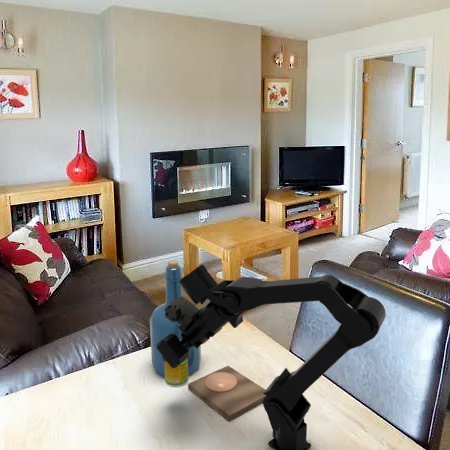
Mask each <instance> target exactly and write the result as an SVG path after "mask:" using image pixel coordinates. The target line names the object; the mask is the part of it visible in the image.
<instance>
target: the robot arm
mask: <svg viewBox="0 0 450 450" xmlns="http://www.w3.org/2000/svg"><path fill="white" fill-rule="evenodd" d="M208 271H209V270H208V269H207V268H206V266H205V265H204V264H200V265H198V266H197V267H196V268H194V270H191V272H190V273H188V274H186V275H184V276H182V279H181V280H180V281H179V284H180V286H181V287H182V290H183V291H184V292H185V293H186V294H187V296H188V297H189V298H190V300H191V301H192V302H193V303H192V302H191V301H189V299H187V298H185V297H184V296H183V297H181V296H179V297H177V298H176V299H174V300H173V301H171V302H170V304H169V305H168V307H167V308H165V317H166V318H167V319H169V320H170V321H171V322H177V323H179V324H181V325H180V326H179V327H178V328H179V329H180V330H181V332H183V333H181V334H180V335H181V337H182V340H181V341H180V340H179V338H178V337H177V336H176V335H175V334H171V333H170V334H169V335H168V336H166V337H165V338H164V339H162V340H161V341H160V342H159V343H158V344H156V348H157V349H158V350H159V352H160V353H161V354H162V356H163V357H162V359H163V361H164V362H168V364H169V365H170V366H171V368H176V367H177V366H178V365H179V364H181V363H182V362H183V361H184V360H185V359H187V358H188V357H189V348H190V347H193V346H195V347H196V348H198V347H199V346H200V345H201V346H202V345H203V344H205V343H206V342H207V341H209V340H210V339H211V338H213V337H214V336H215V335H216V334H218V333H220V331H221V330H222V329H223V327H224V326H226V325H227V324H228V323H229V324H230V325H231V327H232V328H234V329H236V328H238V326H239V325H241V324H242V323H243V322H244V317H243V312H244V313H245V312H248V311H250V310H254V309H256V308H258V307H261V306H265V305H276V304H277V305H278V304H290V303H291V304H292V303H295V304H296V303H307V302H308V303H309V302H319V303H321V304H322V305H323V306H324V307H325V308H326V309H327V311H328V312H329V313H330V314H331V316H332V317H333V319H335V321H337V322H338V323H339V324H340V325H339V327H338V328H337V330H335V331H334V332H333V334H332V335H331V336H330V337H328V338H327V339H326V341H324V342H323V343H322V345H320V346H319V347H318V348H317V349H316V350H315V351H314V352H313V354H311V355H310V357H308V358H307V359H306V360H305V361H304V362H303V363H302V364H301V365H300V366H299V367H298V368H297V369H296V370H295V371H294V370H293V371H292V372H290V370H289V369H288V368H287V367H285V368H284V369H283V371H282V372H281V373H280V374H279V375H277V376H276V377H274V379H273V380H272V381H271V382H270V384H269V386H268V387H267V388H265V390H266V391H265V392H264V393H263V394H264V395H266V396H265V397H264V399H263V402H262V403H261V404H262V405H263V406H262V407H263V408H264V411H265V412H266V414H267V418H268V421H269V424H270V426H271V429H272V439H270V440H269V441H268V442H267V444H268V446H269V447H271V448H272V449H273V450H310V449H311V448H312V443H310V442H308V441H307V435H308V434H307V432H308V431H307V429H308V424H307V423H306V422H305V417H306V415H307V414H308V413H309V411H310V408H311V407H312V405H311V403H310V402H309V401H308V399H307V398H306V397H305V395H304V393H305V392H306V391H307V390H308V389H309V388H310V387H311V386H312V385H313V384H314V383H315V382H317V381H318V380H319V379H320V378H321V376H323V375H324V374H325V373H326V372H327V371H328V370H329V369H330V368H332V367H333V366H334V365H335V364H336V363H337V362H338V361H339V360H340V359H341V358H342V357H343V356H344V355H345V354H347V353H348V352H349V351H350V350H353V349H356V348H359V347H362V346H363V345H364V344H366V343H368V342H370V341H371V340H373V339H374V338H375V337H376V336H377V335H378V334H379V331H380V329H381V327H382V325H383V323H384V322H385V319H386V317H387V314H386V309H385V307H384V304H382V302H381V301H380V300H379V299H377V298H375V297H372V296H368V295H367V294H366V293H364V292H363V291H361V290H360V289H359V288H357V287H354V286H352V285H349V284H347V283H345V282H343V281H341V280H340V279H339V278H338V277H336V276H335V275H333V274H332V275H331V274H324V275H321V276H312V277H301V278H292V279H291V278H289V279H278V280H269V281H268V280H262V279H259V278H258V277H248V276H241V277H238V278H237V279H224V280H223V279H222V281H220V282H219V283H217V281H216V280H215V279H214V278H213V276H212V275H211V274H210V272H208ZM207 301H209V302H208V303H207V304H206V305H204V307H201V308H200V309H199V308H198V307H196V306H197V305H198V304H199V303H200V305H203V304H205V303H206V302H207Z"/></svg>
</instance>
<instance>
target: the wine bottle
mask: <svg viewBox="0 0 450 450" xmlns="http://www.w3.org/2000/svg"><path fill="white" fill-rule="evenodd" d="M182 274H183V273H182V269H181V266H180V265H179V262H178V261H177V260H170V261H168V262H167V266H166V267H165V278H164V280H165V303H163V304H160V305H159V306H157V307H156V308H155V309H154V310H153V312H152V314H151V315H150V318H149V331H150V333H149V334H150V350H151V351H150V352H151V353H150V354H151V365H152V367H153V369H154V372H155V373H156V374H157V375H159V376H161V377H164V378H165V366H164V361H163V359H162V357H163V356H162V354H161V353H160V352H159V350H158V349H157V348H156V344H158V343H159V342H160V341H161V340H162V339H164V338H165V337H166V336H168V335H169V334H170V333H171V334H175V335H176V336H177V337H178V338H179V340H182V337H181V335H180V334H181V333H183V332H181V330H180V329H179V328H178V327H179V326H180V325H181V324H179V323H177V322H171V321H170V320H169V319H167V318H166V317H165V308H167V307H168V305H169V304H170V302H171V301H173V300H174V299H176V298H177V297H179V296H181V297H184V296H183V288H182V287H181V286H180V284H179V281H180V280H181V279H182V278H183V275H182ZM201 350H202V345H200V346H199V347H198V348H196V347H195V346H193V347H190V348H189V357H188V377H189V376H191V375H193V374H194V373H195V372H196V371H199V368H200V365H201V361H202V351H201Z"/></svg>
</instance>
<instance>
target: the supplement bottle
mask: <svg viewBox="0 0 450 450" xmlns="http://www.w3.org/2000/svg"><path fill="white" fill-rule="evenodd" d="M180 341H181V340H180ZM164 366H165V377H164V380H165V381H164V382H165V384H166V385H167V386H168V387H170V388H181V387H184V386H186V385H188V382H189V376H188V358H187V359H185V360H184V361H183V362H182V363H181V364H179V365H178V366H177V367H176V368H171V366H170V365H169V364H168V362H164Z"/></svg>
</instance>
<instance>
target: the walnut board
mask: <svg viewBox="0 0 450 450" xmlns="http://www.w3.org/2000/svg"><path fill="white" fill-rule="evenodd" d="M217 372H225V373H229V374H232V375H233V376H235V377H236V379H237V385H236V387H235V388H234V389H232V390H230V391H228V392H214V391H211V390H209V389H208V388H207V387H206V386H205V379H206V378H207V377H208V376H209V375H211V374H213V373H217ZM187 389H188V390H189V392H191V393H193V395H195V396H197V398H199V399H200V400H202V401H203V402H204V403H205V404H207V405H208V406H209V407H210V408H211V409H213V410H214V411H216V412H217V414H219V415H221V416H222V417H223V418H225V420H227V421H229V422H231V421H232V420H234V419H236V418H238V417H240V416H241V415H244V414H245V413H247V412H249V411H251V410H252V409H254V408H256V407H258V406H259V405H262V404H263V403H262V402H263V399H264V397H265V396H266V395H264V394H263V393H264V392H265V391H266V388H264V387H262V386H261V385H259V384H258V383H256V382H254V381H253V380H251V379H250V378H248V377H247V376H246V375H243V374H242V373H241V372H239V371H237V370H236V369H234V368H232V367H231V366H230V365H226V366H224V367H221V368H220V369H217V370H216V371H213V372H211V373H208V374H206V375H204V376H202V377H200V378H198V379H195V380H193V381H191V382H189V383H187Z"/></svg>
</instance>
